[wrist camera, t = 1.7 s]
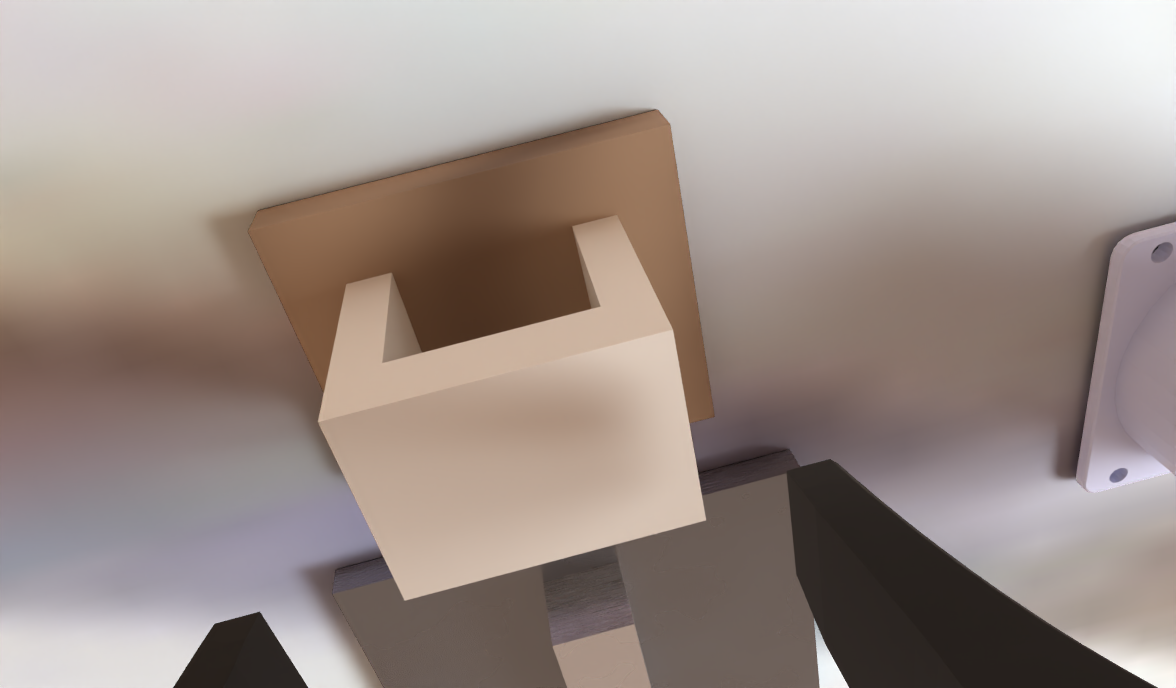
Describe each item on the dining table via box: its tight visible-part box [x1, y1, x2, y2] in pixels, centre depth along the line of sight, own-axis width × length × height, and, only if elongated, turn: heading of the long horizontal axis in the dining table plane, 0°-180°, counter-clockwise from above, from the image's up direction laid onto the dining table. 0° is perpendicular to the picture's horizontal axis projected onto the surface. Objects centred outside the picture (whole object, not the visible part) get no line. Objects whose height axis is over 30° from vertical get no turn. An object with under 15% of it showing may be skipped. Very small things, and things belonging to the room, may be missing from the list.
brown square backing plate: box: [248, 110, 715, 423], centre depth 17 cm, size 8×7×1 cm
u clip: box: [318, 215, 706, 601], centre depth 15 cm, size 5×4×4 cm
